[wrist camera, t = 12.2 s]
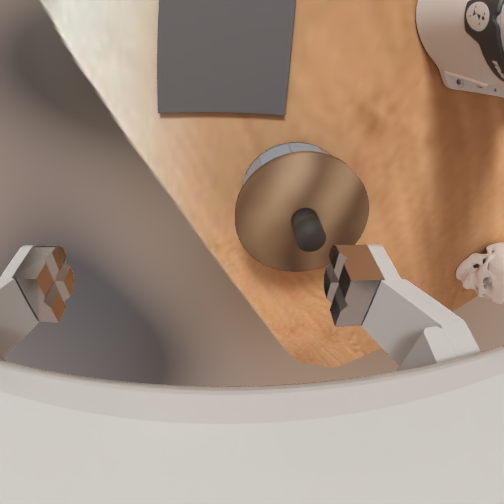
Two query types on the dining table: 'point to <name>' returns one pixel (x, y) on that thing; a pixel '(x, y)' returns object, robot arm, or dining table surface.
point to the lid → (300, 210)
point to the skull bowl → (485, 273)
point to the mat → (224, 55)
